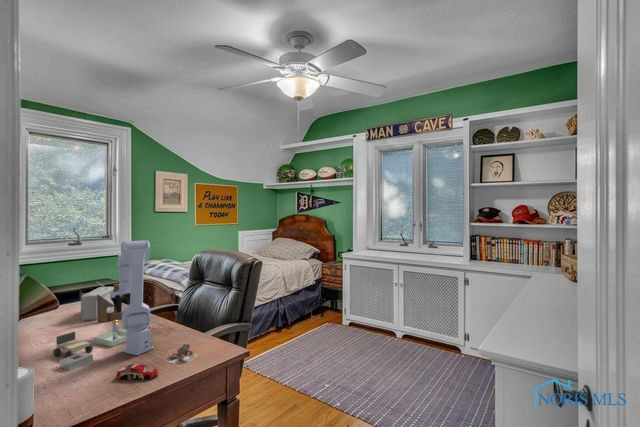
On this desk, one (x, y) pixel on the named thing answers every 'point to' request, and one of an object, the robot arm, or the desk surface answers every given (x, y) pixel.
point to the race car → (137, 372)
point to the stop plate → (76, 360)
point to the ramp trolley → (70, 345)
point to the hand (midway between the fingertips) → (126, 309)
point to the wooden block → (102, 309)
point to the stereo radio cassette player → (94, 302)
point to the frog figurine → (181, 355)
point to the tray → (111, 338)
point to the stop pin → (115, 329)
